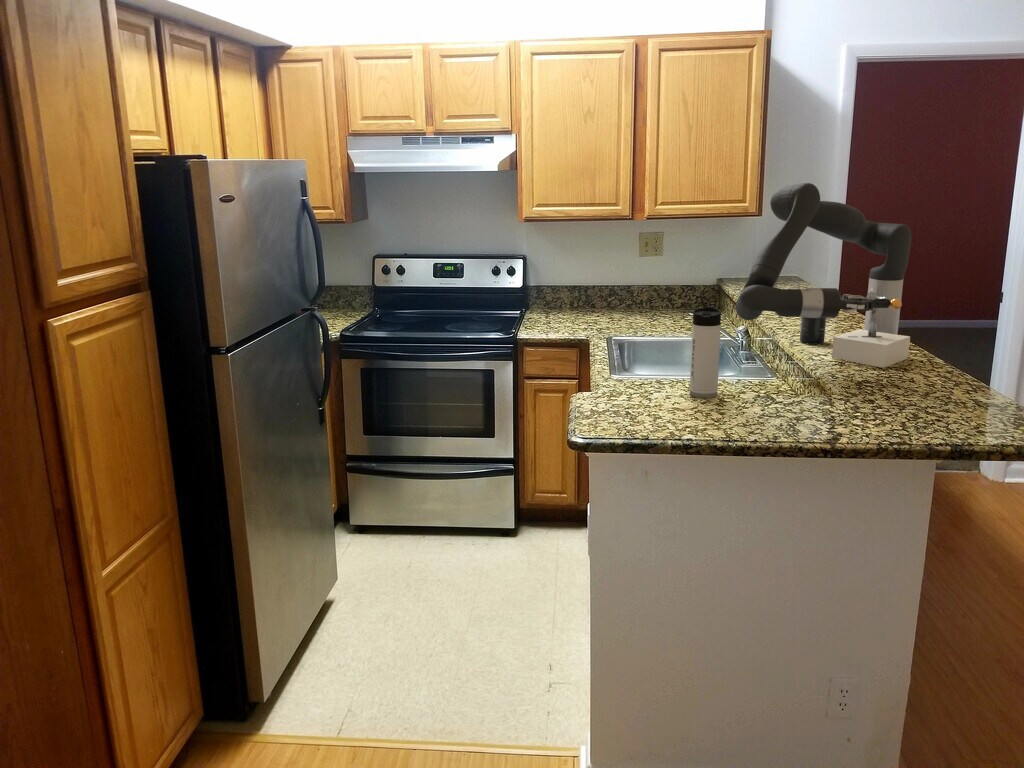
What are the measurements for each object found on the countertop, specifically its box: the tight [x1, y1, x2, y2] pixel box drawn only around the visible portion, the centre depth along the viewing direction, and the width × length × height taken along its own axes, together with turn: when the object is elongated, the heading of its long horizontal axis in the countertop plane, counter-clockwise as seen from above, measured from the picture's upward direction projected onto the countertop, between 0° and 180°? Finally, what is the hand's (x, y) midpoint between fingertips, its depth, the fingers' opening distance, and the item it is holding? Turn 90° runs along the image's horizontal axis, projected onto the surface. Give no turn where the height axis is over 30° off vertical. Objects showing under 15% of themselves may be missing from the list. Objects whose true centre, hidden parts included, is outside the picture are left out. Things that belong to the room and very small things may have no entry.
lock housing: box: [831, 328, 911, 369], centre depth 213 cm, size 14×14×6 cm
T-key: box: [866, 292, 902, 336], centre depth 207 cm, size 14×3×12 cm, turn 3°
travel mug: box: [689, 306, 722, 399], centre depth 182 cm, size 6×7×20 cm
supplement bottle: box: [799, 317, 827, 345], centre depth 233 cm, size 7×7×12 cm
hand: (888, 303), depth 202 cm, fingers closed
